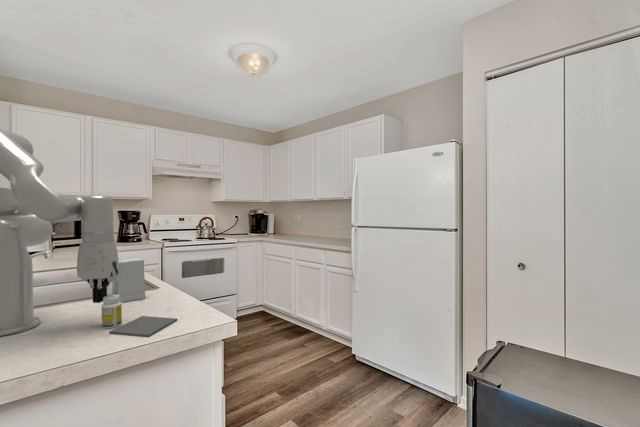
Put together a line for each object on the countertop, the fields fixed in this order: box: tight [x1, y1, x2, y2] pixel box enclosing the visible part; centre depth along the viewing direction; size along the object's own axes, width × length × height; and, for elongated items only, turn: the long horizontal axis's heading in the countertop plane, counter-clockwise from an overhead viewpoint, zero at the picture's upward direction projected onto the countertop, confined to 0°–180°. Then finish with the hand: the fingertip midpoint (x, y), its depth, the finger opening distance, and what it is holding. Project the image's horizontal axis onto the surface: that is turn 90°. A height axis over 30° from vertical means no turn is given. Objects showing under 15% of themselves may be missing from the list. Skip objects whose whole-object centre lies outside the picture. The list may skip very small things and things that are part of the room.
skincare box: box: [116, 257, 146, 303], centre depth 114 cm, size 8×6×15 cm
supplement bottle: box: [101, 294, 123, 329], centre depth 89 cm, size 5×5×8 cm
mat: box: [108, 315, 178, 338], centre depth 88 cm, size 12×12×1 cm
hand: (100, 301), depth 90 cm, fingers closed
